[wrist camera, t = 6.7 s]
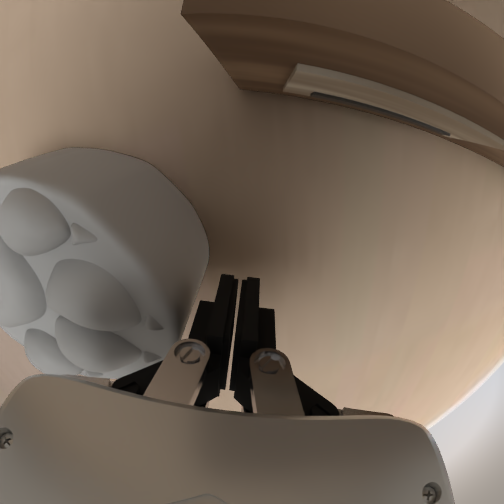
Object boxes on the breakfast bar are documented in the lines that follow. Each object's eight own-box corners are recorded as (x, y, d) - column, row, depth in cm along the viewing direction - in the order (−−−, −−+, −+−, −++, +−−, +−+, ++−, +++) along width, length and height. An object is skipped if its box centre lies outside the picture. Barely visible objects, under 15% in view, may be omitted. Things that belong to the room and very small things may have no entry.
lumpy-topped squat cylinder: (42, 139, 14) (-61, 172, 6) (230, 179, 15) (192, 249, 7) (42, 272, 18) (-23, 339, 10) (193, 325, 19) (162, 432, 12)
